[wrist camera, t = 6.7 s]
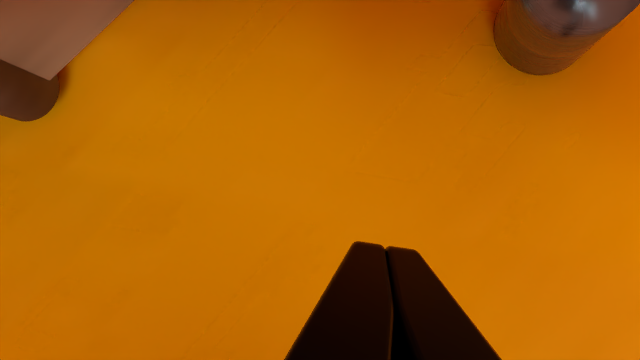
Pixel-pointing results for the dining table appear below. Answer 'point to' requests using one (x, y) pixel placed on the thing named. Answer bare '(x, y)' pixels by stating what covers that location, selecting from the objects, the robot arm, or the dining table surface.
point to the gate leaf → (44, 48)
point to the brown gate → (554, 30)
